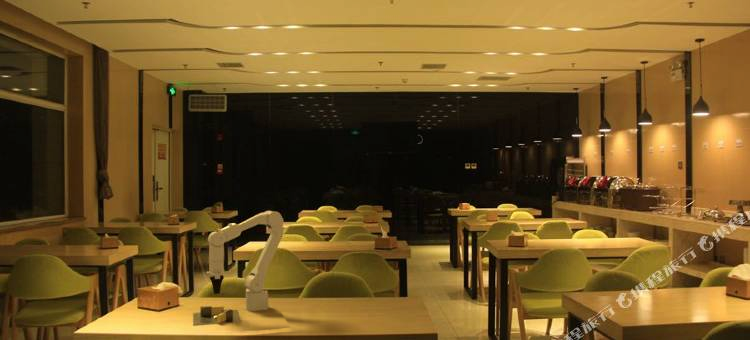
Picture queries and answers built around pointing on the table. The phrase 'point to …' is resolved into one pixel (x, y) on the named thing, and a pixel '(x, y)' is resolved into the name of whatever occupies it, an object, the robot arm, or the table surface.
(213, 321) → the levelling plate
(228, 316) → the knob
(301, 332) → the table surface
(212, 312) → the knob
